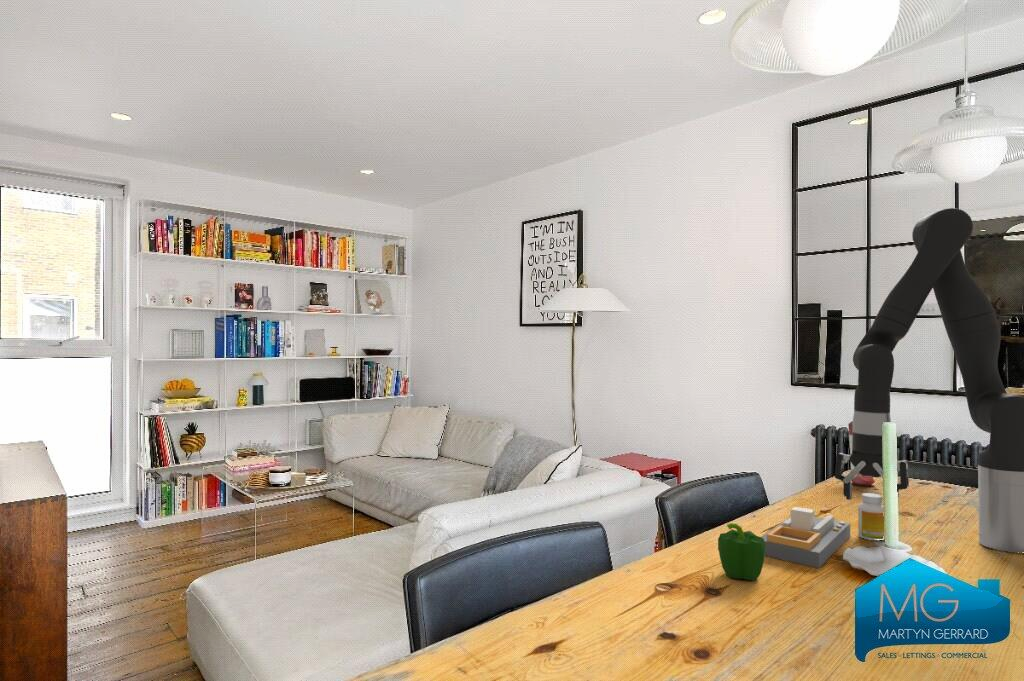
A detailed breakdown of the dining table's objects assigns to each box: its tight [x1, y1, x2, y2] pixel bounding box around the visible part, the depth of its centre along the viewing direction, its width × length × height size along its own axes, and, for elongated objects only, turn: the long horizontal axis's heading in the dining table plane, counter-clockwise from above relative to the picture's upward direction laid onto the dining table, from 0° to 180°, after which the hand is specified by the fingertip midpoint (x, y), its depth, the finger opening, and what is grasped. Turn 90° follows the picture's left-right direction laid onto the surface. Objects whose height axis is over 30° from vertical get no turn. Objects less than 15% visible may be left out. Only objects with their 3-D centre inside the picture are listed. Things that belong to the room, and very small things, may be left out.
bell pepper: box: [717, 522, 766, 581], centre depth 112 cm, size 8×8×10 cm
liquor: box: [847, 420, 876, 487], centre depth 186 cm, size 7×7×28 cm
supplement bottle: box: [857, 492, 884, 541], centre depth 134 cm, size 5×5×10 cm
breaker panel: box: [760, 514, 851, 569], centre depth 130 cm, size 12×26×5 cm, turn 138°
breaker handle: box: [790, 506, 816, 532], centre depth 128 cm, size 4×3×5 cm
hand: (870, 502), depth 134 cm, fingers open, 8 cm apart
